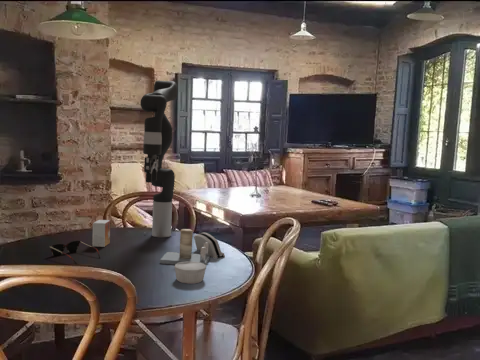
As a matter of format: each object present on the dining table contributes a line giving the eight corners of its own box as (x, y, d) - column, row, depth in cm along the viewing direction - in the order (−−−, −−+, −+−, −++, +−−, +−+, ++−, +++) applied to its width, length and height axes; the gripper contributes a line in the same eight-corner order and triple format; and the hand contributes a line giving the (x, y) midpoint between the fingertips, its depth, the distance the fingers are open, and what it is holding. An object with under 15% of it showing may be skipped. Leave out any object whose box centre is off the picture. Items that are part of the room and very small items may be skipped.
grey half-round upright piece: (225, 257, 196) (219, 236, 193) (216, 262, 193) (210, 240, 191) (206, 248, 210) (200, 228, 207) (197, 252, 207) (191, 232, 204)
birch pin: (180, 255, 190) (181, 228, 189) (192, 256, 189) (193, 229, 188) (178, 258, 185) (179, 231, 184) (190, 259, 185) (191, 232, 183)
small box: (104, 247, 202) (105, 223, 201) (91, 246, 202) (92, 222, 201) (110, 243, 210) (110, 220, 209) (97, 242, 210) (98, 219, 209)
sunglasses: (79, 251, 195) (79, 239, 195) (103, 261, 186) (104, 249, 185) (49, 257, 184) (49, 245, 183) (73, 268, 175) (73, 255, 174)
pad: (167, 255, 194) (167, 239, 193) (209, 258, 193) (210, 241, 192) (160, 263, 182) (160, 245, 181) (205, 266, 181) (206, 249, 180)
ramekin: (190, 273, 172) (190, 259, 171) (212, 280, 165) (212, 265, 164) (167, 279, 163) (167, 264, 163) (189, 287, 156) (190, 272, 156)
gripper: (157, 143, 187) (155, 183, 189) (165, 143, 202) (164, 180, 203) (138, 142, 188) (137, 182, 190) (148, 142, 202) (147, 179, 204)
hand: (151, 181), depth 196 cm, fingers open, 8 cm apart
